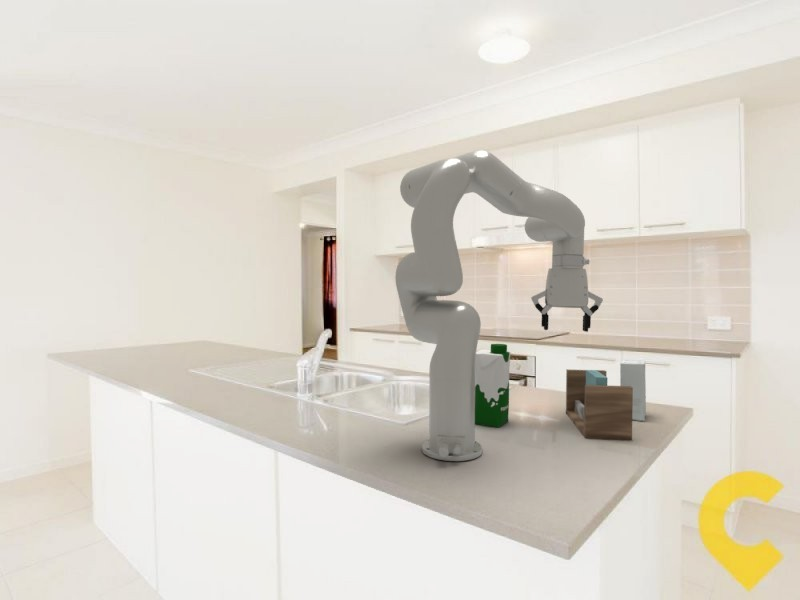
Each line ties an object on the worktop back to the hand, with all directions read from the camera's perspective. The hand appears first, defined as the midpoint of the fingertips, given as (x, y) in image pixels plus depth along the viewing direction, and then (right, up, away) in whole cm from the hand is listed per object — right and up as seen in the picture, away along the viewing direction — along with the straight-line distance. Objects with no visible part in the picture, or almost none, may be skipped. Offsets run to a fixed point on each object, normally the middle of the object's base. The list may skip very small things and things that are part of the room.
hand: (565, 330), depth 122 cm
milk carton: (-19, -24, 0) cm, 30 cm away
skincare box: (+20, -24, +6) cm, 31 cm away
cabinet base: (+7, -24, -3) cm, 25 cm away
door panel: (+7, -23, -3) cm, 24 cm away
